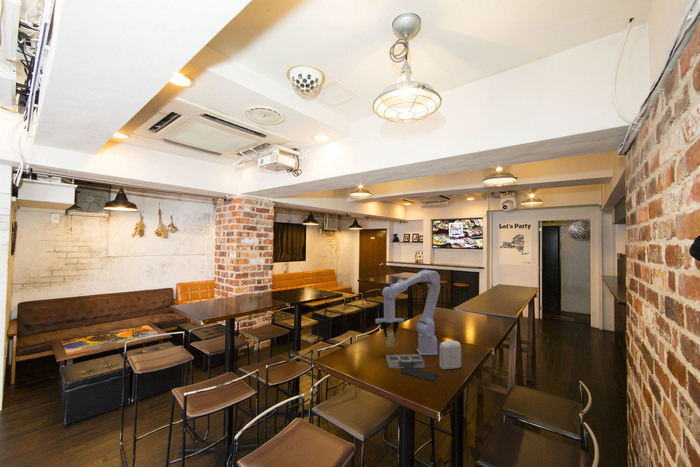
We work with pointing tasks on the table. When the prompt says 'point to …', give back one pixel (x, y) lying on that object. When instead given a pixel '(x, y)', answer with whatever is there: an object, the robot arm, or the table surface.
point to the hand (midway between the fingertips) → (389, 336)
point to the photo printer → (450, 355)
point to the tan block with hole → (390, 339)
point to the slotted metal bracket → (404, 361)
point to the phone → (420, 373)
